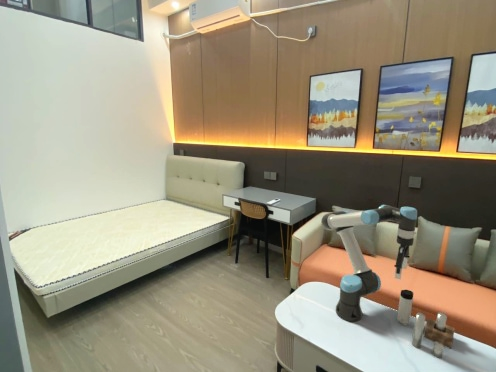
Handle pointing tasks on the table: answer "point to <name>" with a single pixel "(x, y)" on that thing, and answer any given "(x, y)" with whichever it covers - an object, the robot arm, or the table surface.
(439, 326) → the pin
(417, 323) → the pin long
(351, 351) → the table surface
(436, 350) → the pin short
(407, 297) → the travel mug
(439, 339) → the hole block
